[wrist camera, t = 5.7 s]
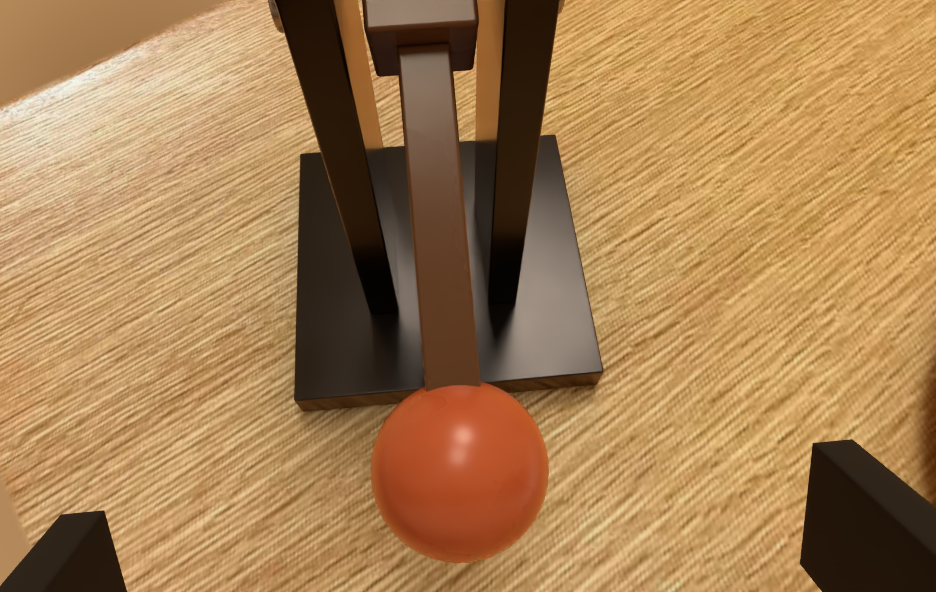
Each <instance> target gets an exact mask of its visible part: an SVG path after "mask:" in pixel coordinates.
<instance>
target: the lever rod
mask: <svg viewBox="0 0 936 592" xmlns="http://www.w3.org/2000/svg"><path fill="white" fill-rule="evenodd" d="M362 5H363V17H364V29H365V33H366V36H367V40H368V44H369V48H370V52H371V56H372V59H373V63H374V67H375V71H376V74H377V76H380V77H381V76H395V75H399V86H400V97H401V109H402V121H403V133H404V145H405V156H406V168H407V180H408V192H409V203H410V215H411V227H412V239H413V250H414V262H415V274H416V286H417V297H418V309H419V321H420V333H421V344H422V356H423V368H424V380H425V387H423V388H420V389H419V390H417V391H415V392H414V393H412V394H411V395H409V396H408V397H407V398H405V399H404V400H403V401H402V402H400V403H399V404H398V405H397V407H396V408H395V409H394V410H393V411H392V412H391V413H390V415H389V416H388V417H387V419H386V420H385V422H384V424H383V425H382V427H381V429H380V431H379V434H378V436H377V439H376V441H375V445H374V449H373V453H372V460H371V484H372V490H373V494H374V498H375V501H376V504H377V506H378V508H379V511H380V513H381V515H382V517H383V519H384V520H385V522H386V524H387V525H388V527H389V528H390V529H391V530H392V532H393V533H394V534H395V535H396V536H397V537H398V538H399V539H400V540H401V541H402V542H403V543H405V544H406V545H407V546H409V547H410V548H411V549H413V550H415V551H417V552H418V553H420V554H422V555H424V556H427V557H430V558H432V559H435V560H440V561H444V562H452V563H469V562H475V561H480V560H483V559H487V558H490V557H492V556H494V555H496V554H499V553H501V552H502V551H504V550H505V549H507V548H509V547H510V546H512V545H513V544H514V543H515V542H516V541H518V540H519V539H520V538H521V537H522V536H523V535H524V534H525V533H526V531H527V530H528V529H529V528H530V526H531V525H532V524H533V522H534V521H535V519H536V517H537V515H538V513H539V511H540V509H541V507H542V504H543V501H544V499H545V494H546V490H547V485H548V475H549V467H548V456H547V450H546V447H545V443H544V440H543V437H542V435H541V433H540V430H539V428H538V426H537V424H536V423H535V421H534V420H533V418H532V416H531V415H530V414H529V413H528V411H527V410H526V409H525V408H524V407H523V406H522V405H521V404H520V403H519V402H518V401H517V400H516V399H515V398H513V397H512V396H511V395H509V394H508V393H506V392H505V391H503V390H501V389H499V388H497V387H495V386H492V385H490V384H487V383H484V382H480V372H479V361H478V349H477V338H476V327H475V315H474V304H473V293H472V281H471V270H470V259H469V247H468V236H467V224H466V213H465V202H464V190H463V179H462V168H461V156H460V145H459V134H458V122H457V111H456V100H455V88H454V77H453V71H466V70H471V69H473V65H474V57H475V49H476V41H477V34H478V26H479V15H478V3H477V0H362Z"/></svg>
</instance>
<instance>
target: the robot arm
mask: <svg viewBox="0 0 936 592" xmlns="http://www.w3.org/2000/svg"><path fill="white" fill-rule="evenodd" d="M800 564H801V566H802V567H803V568H804V569H805V571H806V572H807V573H808V575H809V576H810V577H811V578H812V580H813V581H814V582H815V583H816V585H817V586H818V587H819V588H820V590H821V591H822V592H936V508H935V507H934V506H933V505H932V504H930V503H929V502H928V501H927V500H925V499H924V498H923V497H922V496H921V495H919V494H918V493H917V492H916V491H914V490H913V489H912V488H911V487H910V486H908V485H907V484H906V483H905V482H904V481H902V480H901V479H900V478H899V477H897V476H896V475H895V474H894V473H893V472H891V471H890V470H889V469H888V468H886V467H885V466H884V465H883V464H882V463H880V462H879V461H878V460H877V459H876V458H874V457H873V456H872V455H871V454H869V453H868V452H867V451H866V450H865V449H863V448H862V447H861V446H860V445H858V444H857V443H856V442H855V441H854V440H841V441H831V442H820V443H813V447H812V456H811V465H810V475H809V484H808V493H807V503H806V512H805V521H804V531H803V540H802V549H801V559H800ZM0 592H127V590H126V587H125V583H124V580H123V576H122V573H121V569H120V565H119V562H118V558H117V555H116V551H115V547H114V544H113V540H112V537H111V533H110V530H109V526H108V522H107V519H106V515H105V512H104V511H94V512H83V513H73V514H62V515H60V516H59V517H58V519H57V520H56V521H55V522H54V523H53V524H52V526H51V527H50V528H49V529H48V530H47V532H46V533H45V534H44V535H43V536H42V537H41V539H40V540H39V541H38V542H37V543H36V544H35V546H34V547H33V548H32V549H31V550H30V552H29V553H28V554H27V555H26V556H25V558H24V559H23V560H22V561H21V562H20V563H19V565H18V566H17V567H16V568H15V569H14V570H13V572H12V573H11V574H10V575H9V576H8V577H7V579H6V580H5V581H4V582H3V583H2V585H1V586H0Z"/></svg>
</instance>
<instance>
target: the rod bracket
mask: <svg viewBox="0 0 936 592" xmlns="http://www.w3.org/2000/svg"><path fill="white" fill-rule="evenodd" d="M268 2H269V7H270V11H271V15H272V18H273V21H274V24H275V26H276V28H277V30H278V31H279V32H280V33H284V34H285V37H286V40H287V43H288V47H289V50H290V53H291V56H292V60H293V63H294V66H295V70H296V73H297V76H298V79H299V83H300V86H301V89H302V92H303V96H304V99H305V102H306V105H307V109H308V112H309V115H310V118H311V122H312V125H313V128H314V132H315V135H316V138H317V141H318V145H319V148H320V151H321V152H318V153H305V154H301V155H300V188H299V228H298V269H297V309H296V349H295V389H294V400H295V402H296V403H297V405H298V406H299V407H300V409H301V410H302V411H303V412H304V411H315V410H325V409H336V408H347V407H358V406H368V405H379V404H390V403H400V402H402V401H403V400H404V399H405V398H407V397H408V396H409V395H411V394H412V393H414V392H415V391H417V390H419V389H420V388H423V387H425V380H424V368H423V356H422V344H421V333H420V321H419V309H418V297H417V286H416V274H415V262H414V250H413V239H412V227H411V215H410V203H409V192H408V180H407V168H406V156H405V146H398V147H385V148H383V142H382V137H381V131H380V125H379V119H378V114H377V108H376V102H375V96H374V91H373V85H372V79H371V73H370V68H369V62H368V56H367V50H366V45H365V39H364V33H363V28H362V22H361V16H360V10H359V5H358V0H268ZM564 2H565V0H478V15H479V26H478V34H477V74H476V139H475V141H464V142H459V145H460V156H461V168H462V179H463V190H464V202H465V213H466V224H467V236H468V247H469V259H470V270H471V281H472V293H473V304H474V315H475V327H476V338H477V349H478V361H479V372H480V382H484V383H487V384H490V385H492V386H495V387H497V388H499V389H501V390H503V391H505V392H506V393H508V392H519V391H530V390H540V389H551V388H562V387H573V386H583V385H594V384H597V383H598V382H599V380H600V378H601V376H602V374H603V366H602V362H601V357H600V352H599V347H598V342H597V337H596V332H595V327H594V322H593V317H592V312H591V307H590V302H589V297H588V293H587V288H586V283H585V278H584V273H583V268H582V263H581V258H580V253H579V248H578V243H577V238H576V233H575V229H574V224H573V219H572V214H571V209H570V204H569V199H568V194H567V189H566V184H565V179H564V174H563V169H562V164H561V160H560V155H559V150H558V145H557V140H556V135H543V136H540V134H541V127H542V121H543V114H544V107H545V100H546V93H547V86H548V79H549V73H550V66H551V59H552V52H553V45H554V38H555V31H556V24H557V18H558V14H560V13H561V12H562V9H563V6H564Z"/></svg>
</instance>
